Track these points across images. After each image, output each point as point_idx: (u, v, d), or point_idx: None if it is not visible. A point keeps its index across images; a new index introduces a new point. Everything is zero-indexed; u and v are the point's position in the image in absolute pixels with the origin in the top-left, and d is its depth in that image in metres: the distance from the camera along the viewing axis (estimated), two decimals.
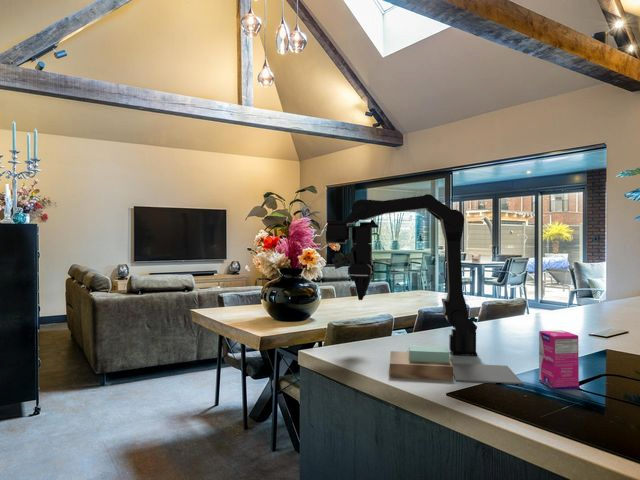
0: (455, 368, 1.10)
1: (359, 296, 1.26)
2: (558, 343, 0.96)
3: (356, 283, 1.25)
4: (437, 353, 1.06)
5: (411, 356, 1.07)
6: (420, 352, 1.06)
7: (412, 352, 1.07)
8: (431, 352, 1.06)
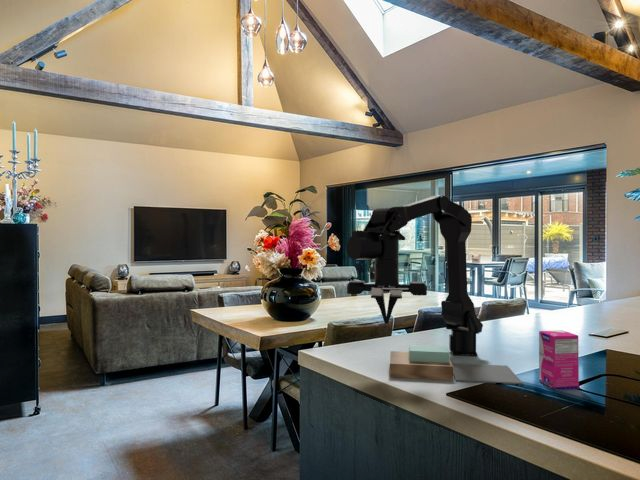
0: (455, 368, 1.10)
1: None
2: (558, 343, 0.96)
3: None
4: (437, 353, 1.06)
5: (411, 356, 1.07)
6: (420, 352, 1.06)
7: (412, 352, 1.07)
8: (431, 352, 1.06)
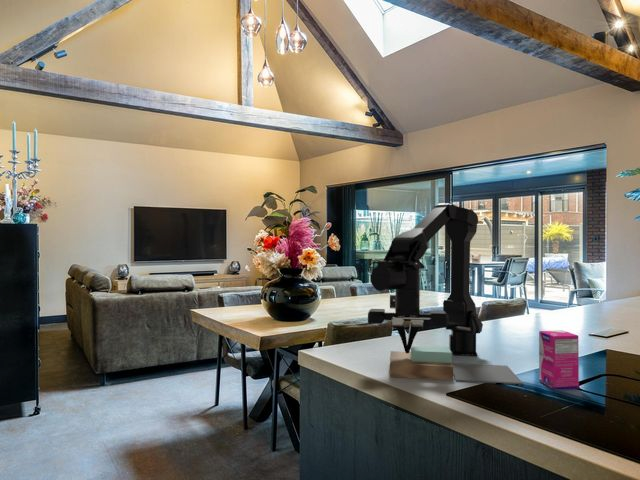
0: (455, 368, 1.10)
1: None
2: (558, 343, 0.96)
3: None
4: (439, 353, 1.06)
5: (413, 356, 1.06)
6: (422, 352, 1.06)
7: (414, 352, 1.06)
8: (433, 352, 1.06)
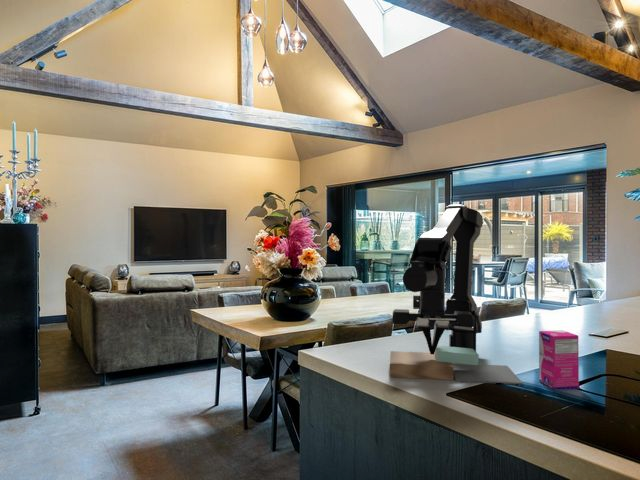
0: (455, 368, 1.10)
1: None
2: (558, 343, 0.96)
3: None
4: (466, 355, 1.05)
5: (440, 357, 1.06)
6: (449, 353, 1.05)
7: (441, 353, 1.05)
8: (460, 353, 1.05)
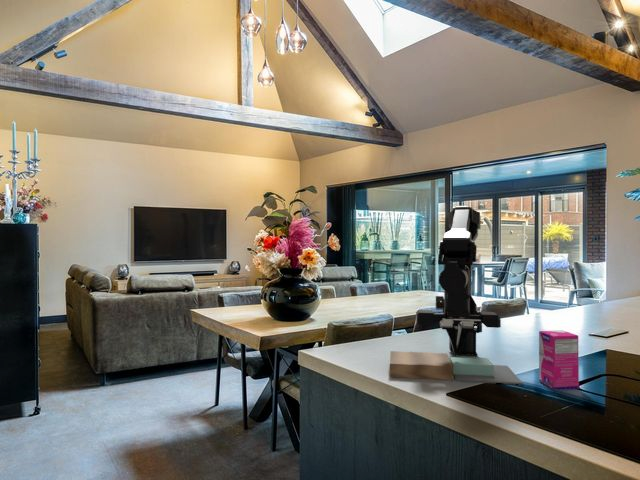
0: None
1: (453, 350, 1.08)
2: (558, 343, 0.96)
3: (448, 333, 1.09)
4: (481, 366, 1.04)
5: (454, 369, 1.05)
6: (464, 365, 1.05)
7: (455, 365, 1.05)
8: (475, 365, 1.05)
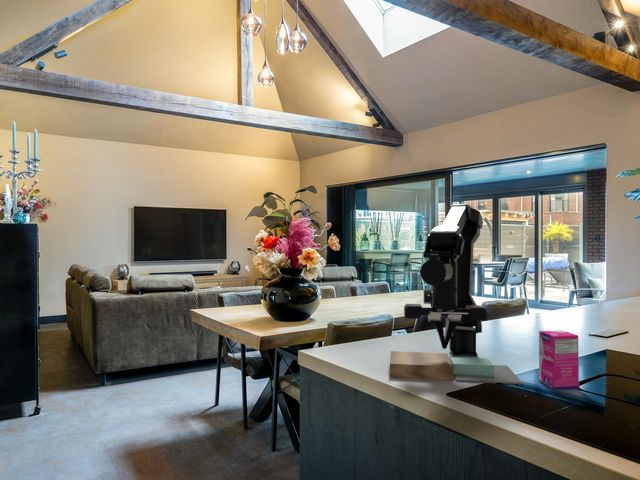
0: None
1: (441, 343, 1.08)
2: (558, 343, 0.96)
3: (436, 327, 1.09)
4: (481, 366, 1.04)
5: (454, 369, 1.05)
6: (464, 365, 1.05)
7: (455, 365, 1.05)
8: (475, 365, 1.05)
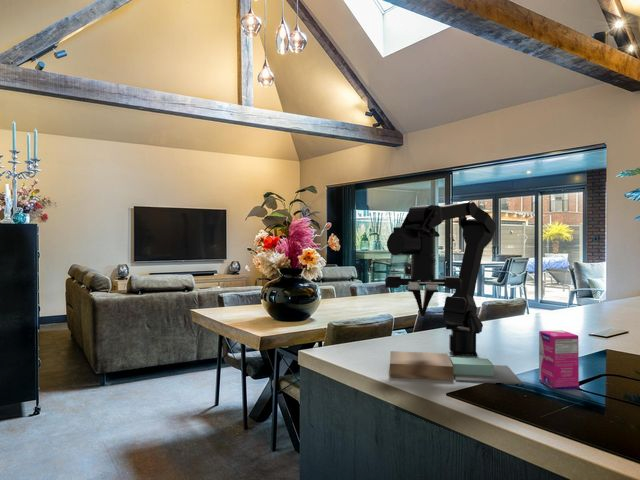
0: None
1: None
2: (558, 343, 0.96)
3: None
4: (481, 366, 1.04)
5: (454, 369, 1.05)
6: (464, 365, 1.05)
7: (455, 365, 1.05)
8: (475, 365, 1.05)
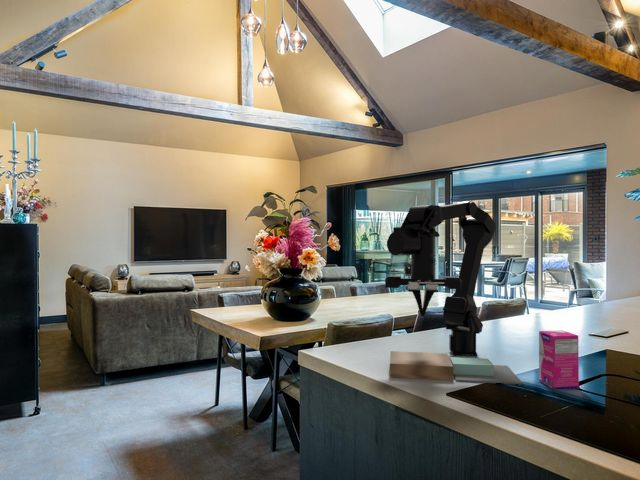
0: None
1: None
2: (558, 343, 0.96)
3: None
4: (481, 366, 1.04)
5: (454, 369, 1.05)
6: (464, 365, 1.05)
7: (455, 365, 1.05)
8: (475, 365, 1.05)
